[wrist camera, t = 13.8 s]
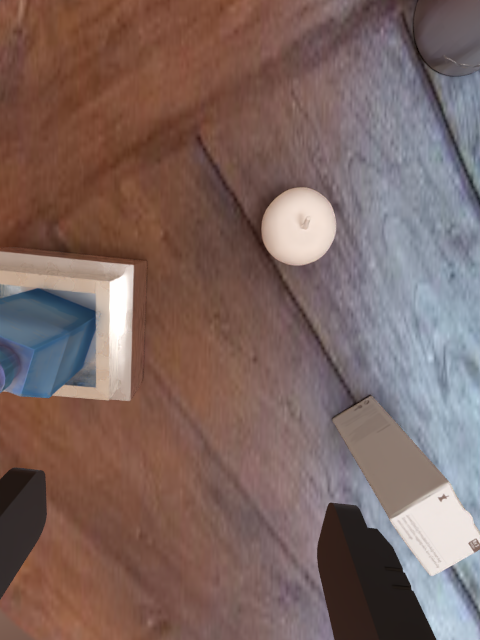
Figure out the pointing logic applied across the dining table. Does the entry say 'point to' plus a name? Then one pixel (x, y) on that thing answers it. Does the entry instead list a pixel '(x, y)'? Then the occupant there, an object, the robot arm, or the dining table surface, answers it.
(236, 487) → the dining table surface
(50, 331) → the perfume bottle
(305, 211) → the plain white apple
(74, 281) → the white square stand
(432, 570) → the skincare box
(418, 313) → the dining table surface
